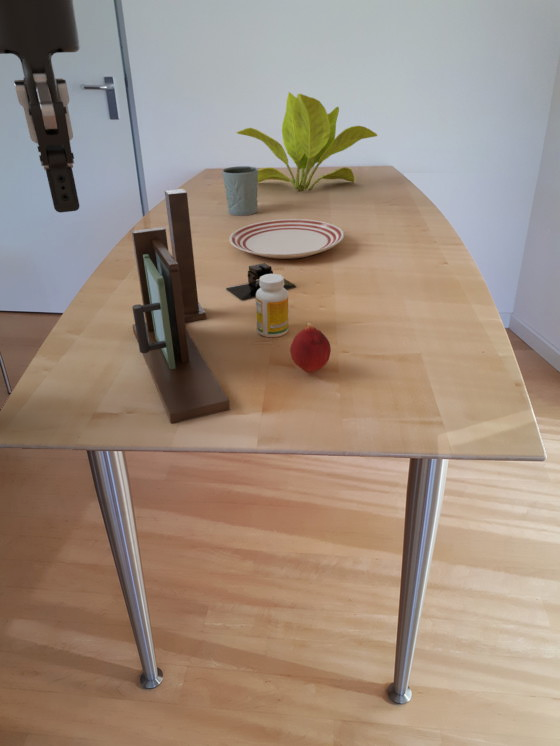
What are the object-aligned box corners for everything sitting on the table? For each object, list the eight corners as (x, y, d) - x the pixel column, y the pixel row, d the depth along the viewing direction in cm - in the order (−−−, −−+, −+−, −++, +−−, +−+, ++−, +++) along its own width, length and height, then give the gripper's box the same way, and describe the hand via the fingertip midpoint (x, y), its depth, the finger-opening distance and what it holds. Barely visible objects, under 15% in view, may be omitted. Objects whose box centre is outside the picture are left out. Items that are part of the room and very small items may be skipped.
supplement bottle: (251, 334, 92) (248, 280, 87) (266, 322, 96) (264, 270, 91) (279, 340, 90) (278, 286, 85) (293, 327, 94) (293, 274, 89)
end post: (179, 323, 96) (163, 196, 85) (173, 313, 100) (157, 189, 89) (206, 318, 98) (194, 192, 87) (199, 308, 102) (187, 186, 91)
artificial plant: (380, 208, 186) (392, 124, 188) (321, 148, 150) (336, 45, 152) (278, 216, 209) (290, 141, 211) (205, 166, 173) (220, 76, 175)
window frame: (170, 423, 71) (151, 294, 61) (133, 332, 94) (115, 228, 85) (229, 409, 73) (219, 283, 64) (179, 323, 96) (166, 222, 87)
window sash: (144, 375, 78) (129, 283, 71) (132, 342, 87) (117, 258, 80) (175, 368, 80) (163, 277, 73) (160, 337, 89) (148, 253, 81)
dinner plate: (251, 273, 117) (250, 258, 115) (216, 238, 139) (215, 225, 137) (364, 256, 125) (365, 242, 124) (314, 225, 147) (314, 213, 146)
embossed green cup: (265, 210, 163) (264, 167, 157) (247, 218, 155) (244, 174, 149) (237, 206, 167) (235, 165, 161) (218, 214, 160) (215, 171, 154)
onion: (331, 364, 83) (333, 316, 79) (326, 383, 78) (328, 334, 74) (294, 361, 84) (294, 313, 80) (287, 380, 79) (286, 330, 75)
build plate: (241, 301, 105) (240, 278, 102) (225, 289, 110) (223, 267, 108) (296, 287, 110) (295, 265, 108) (277, 276, 115) (277, 255, 113)
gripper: (-30, -11, 46) (23, 199, 55) (-44, -30, 35) (24, 234, 44) (64, -10, 48) (100, 191, 57) (76, -28, 38) (118, 222, 47)
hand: (67, 209), depth 51 cm, fingers closed
